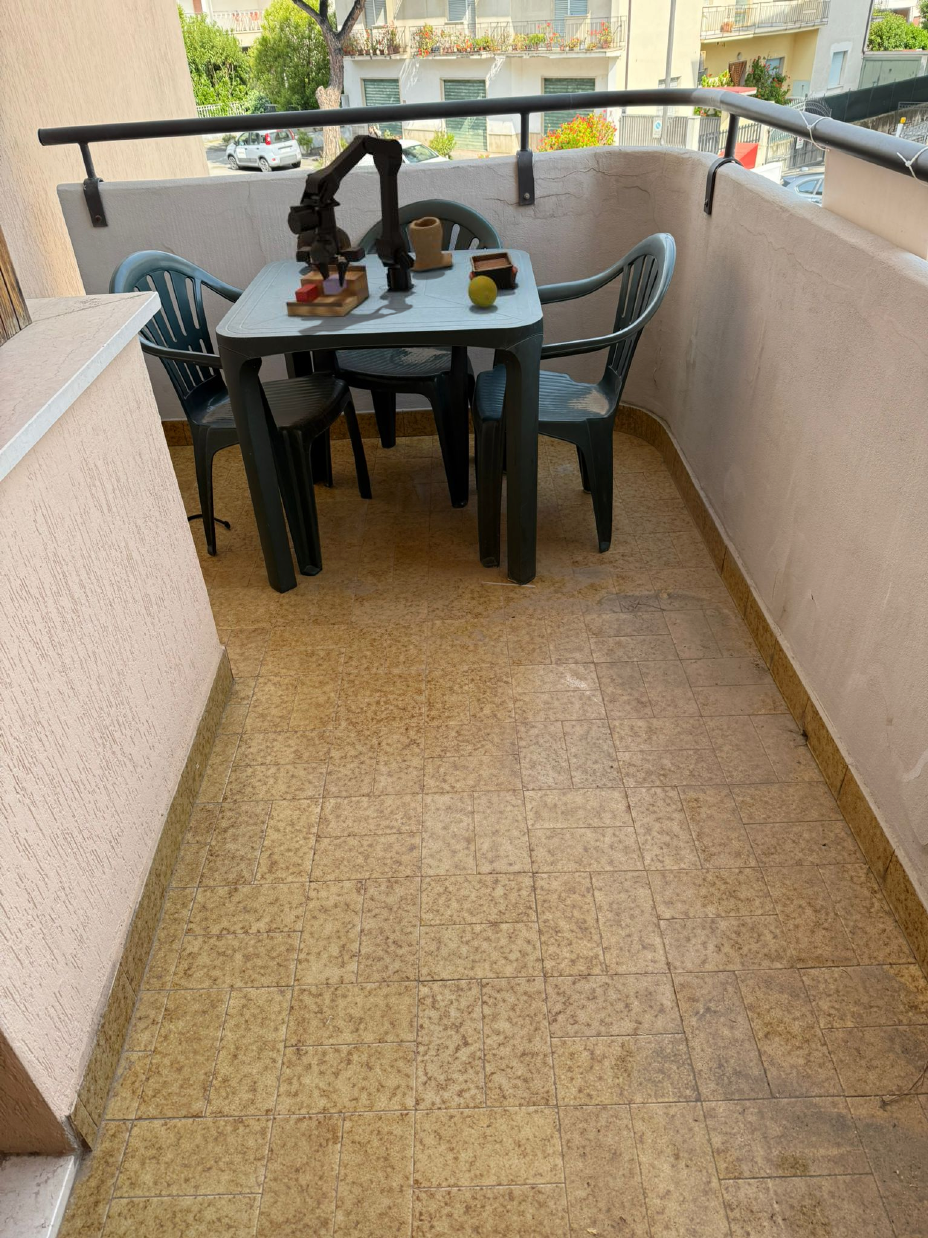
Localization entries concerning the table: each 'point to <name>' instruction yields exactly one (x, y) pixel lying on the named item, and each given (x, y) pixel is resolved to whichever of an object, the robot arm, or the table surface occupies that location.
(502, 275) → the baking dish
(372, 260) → the table surface
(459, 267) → the table surface
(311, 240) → the glass bottle
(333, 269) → the pine rack
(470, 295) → the lemon
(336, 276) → the lilac nougat bar
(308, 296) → the red nougat bar
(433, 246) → the tan hollow boot-shaped piece
